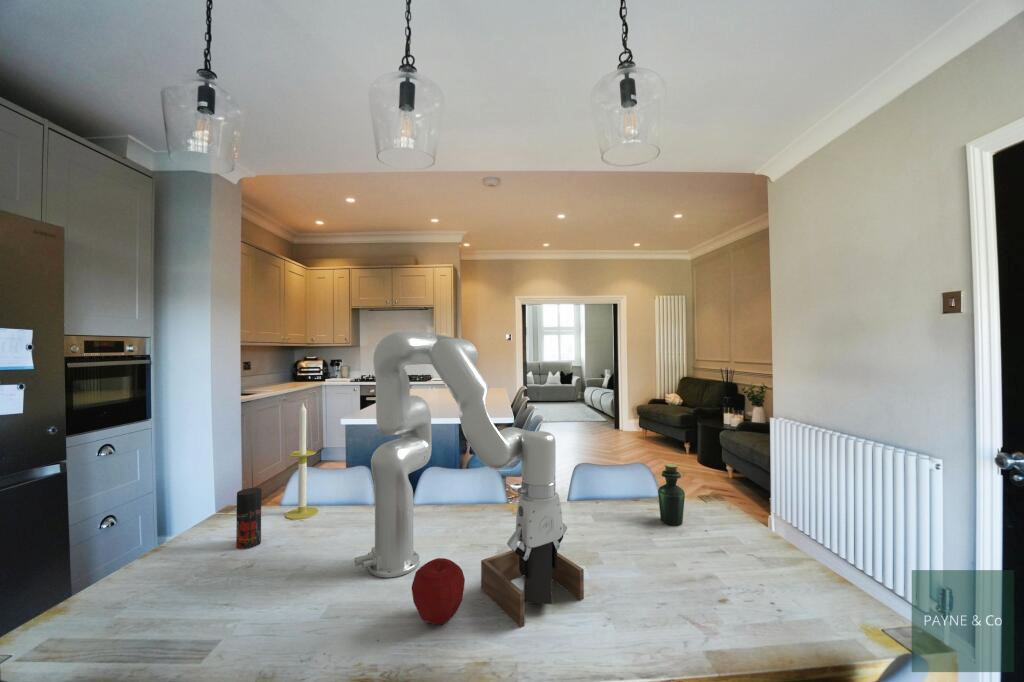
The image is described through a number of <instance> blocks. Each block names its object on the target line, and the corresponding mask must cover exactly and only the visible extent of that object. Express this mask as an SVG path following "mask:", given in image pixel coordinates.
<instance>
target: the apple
mask: <svg viewBox="0 0 1024 682" xmlns="http://www.w3.org/2000/svg"><path fill="white" fill-rule="evenodd" d="M465 582H466V579H465V576H464V572H463V569H462V567H461V566H459V565H458V564H457V563H455V562H454V561H453V560H451V559H449V558H443V557H442V558H441V557H437V558H433V559H432V560H430V561H427V562H426V563H424V564H423V565H422V566H420V567H419V569H417V570H416V571H415V574H414V577H413V580H412V584H411V594H412V595H411V596H412V600H413V603H414V606H415V608H416V610H417V612H418V614H419V616H420V619H421V620H422V621H424V622H425V623H429V624H433V625H437V626H438V625H443V624H445V623H447V622H449V620H450V619H452V618H453V617H454V615H456V613H457V611H458V610H459V607H460V605H461V604H462V601H463V597H464V592H465Z"/></svg>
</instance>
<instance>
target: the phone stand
mask: <svg viewBox="0 0 1024 682" xmlns="http://www.w3.org/2000/svg"><path fill="white" fill-rule="evenodd" d="M525 548H526V546H525ZM528 558H529V559H530V560H531V577H530V578H528V579H527V578H526V576H525V573H524V576H523V592H524V603H528V604H529V603H530V604H544V605H553V580H552V542H550V543H548V544H545V545H542V546H539V547H535V548H531V551H530V554H529V557H528Z"/></svg>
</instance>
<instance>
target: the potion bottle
mask: <svg viewBox="0 0 1024 682" xmlns="http://www.w3.org/2000/svg"><path fill="white" fill-rule="evenodd" d="M664 468H665V469H664V470H663V471H662V473H661V476H662V477H663V478H664V479H665V484H663V485H661V486H659V488H658V489H657V495H658V505H659V515H660V516H659V517H660V521H661V523H663V524H665V525H668V526H672V527H678V526H681V525H683V523H684V521H683V520H684V509H685V499H686V498H685V495H686V491H684V488H683V489H682V487H680V486H679V485H677V482H678V480H679V479H682V478H681V477H682V475H681V473H680V472H679V471H677V469H678V465H677V464H676V463H665V464H664Z"/></svg>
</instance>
